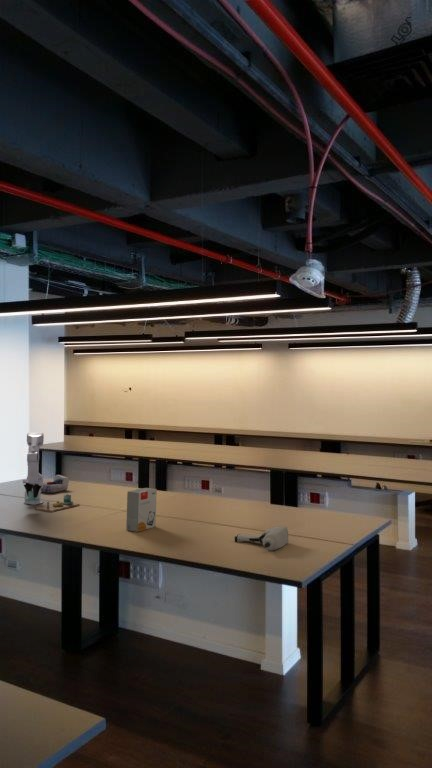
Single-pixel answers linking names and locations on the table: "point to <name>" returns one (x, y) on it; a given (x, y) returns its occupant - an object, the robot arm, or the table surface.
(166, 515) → the table surface
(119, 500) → the table surface
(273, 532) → the impact wrench
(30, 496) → the gear
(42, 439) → the robot arm
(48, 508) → the gear carrier
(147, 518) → the hard drive box
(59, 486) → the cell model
